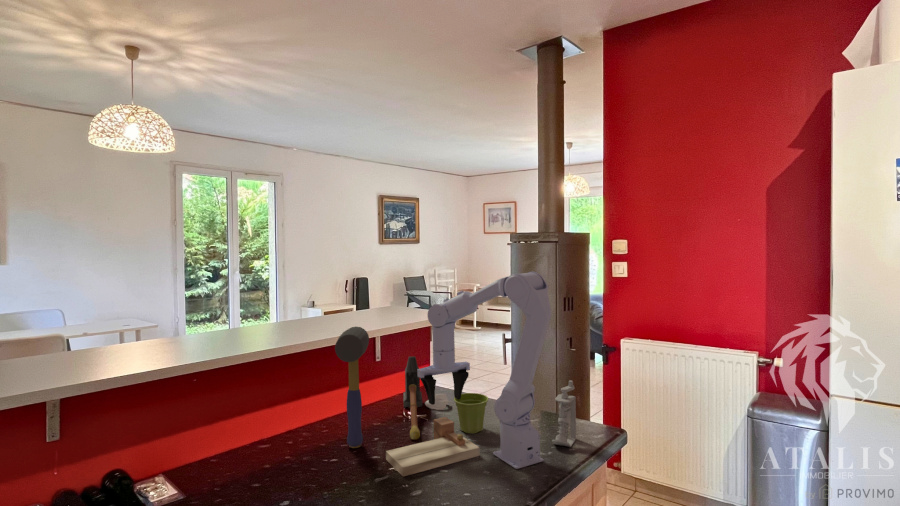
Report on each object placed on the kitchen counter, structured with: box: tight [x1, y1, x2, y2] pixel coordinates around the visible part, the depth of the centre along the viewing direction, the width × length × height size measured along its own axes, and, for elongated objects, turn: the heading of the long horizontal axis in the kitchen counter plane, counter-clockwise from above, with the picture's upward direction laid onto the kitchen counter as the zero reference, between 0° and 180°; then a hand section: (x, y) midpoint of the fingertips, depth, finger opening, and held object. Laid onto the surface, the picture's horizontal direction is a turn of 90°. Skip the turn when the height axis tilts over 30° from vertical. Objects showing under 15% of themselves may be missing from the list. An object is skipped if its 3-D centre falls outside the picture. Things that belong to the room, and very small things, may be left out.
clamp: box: [551, 380, 577, 448], centre depth 123 cm, size 4×10×15 cm, turn 152°
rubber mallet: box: [334, 326, 370, 449], centre depth 123 cm, size 12×8×30 cm, turn 2°
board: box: [385, 433, 481, 477], centre depth 116 cm, size 10×20×2 cm, turn 119°
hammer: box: [402, 355, 423, 440], centre depth 141 cm, size 6×16×30 cm
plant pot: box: [453, 392, 489, 434], centre depth 133 cm, size 9×9×9 cm
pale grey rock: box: [424, 393, 451, 411], centre depth 152 cm, size 8×7×5 cm
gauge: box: [433, 416, 465, 446], centre depth 123 cm, size 11×4×5 cm, turn 29°
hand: (444, 400), depth 127 cm, fingers open, 7 cm apart
